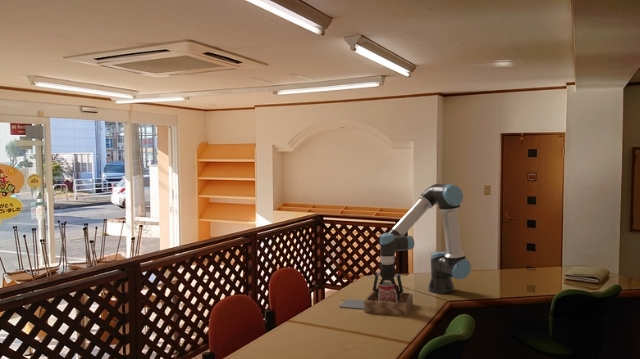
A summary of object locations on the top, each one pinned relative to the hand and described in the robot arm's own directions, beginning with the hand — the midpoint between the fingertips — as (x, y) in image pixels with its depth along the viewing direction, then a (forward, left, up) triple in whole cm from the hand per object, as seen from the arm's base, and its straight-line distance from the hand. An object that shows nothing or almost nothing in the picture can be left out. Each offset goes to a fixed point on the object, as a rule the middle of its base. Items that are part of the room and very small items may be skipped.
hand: (388, 304), depth 256 cm
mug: (-1, 0, -2) cm, 2 cm away
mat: (+19, -1, -2) cm, 19 cm away
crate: (0, 0, -2) cm, 2 cm away
